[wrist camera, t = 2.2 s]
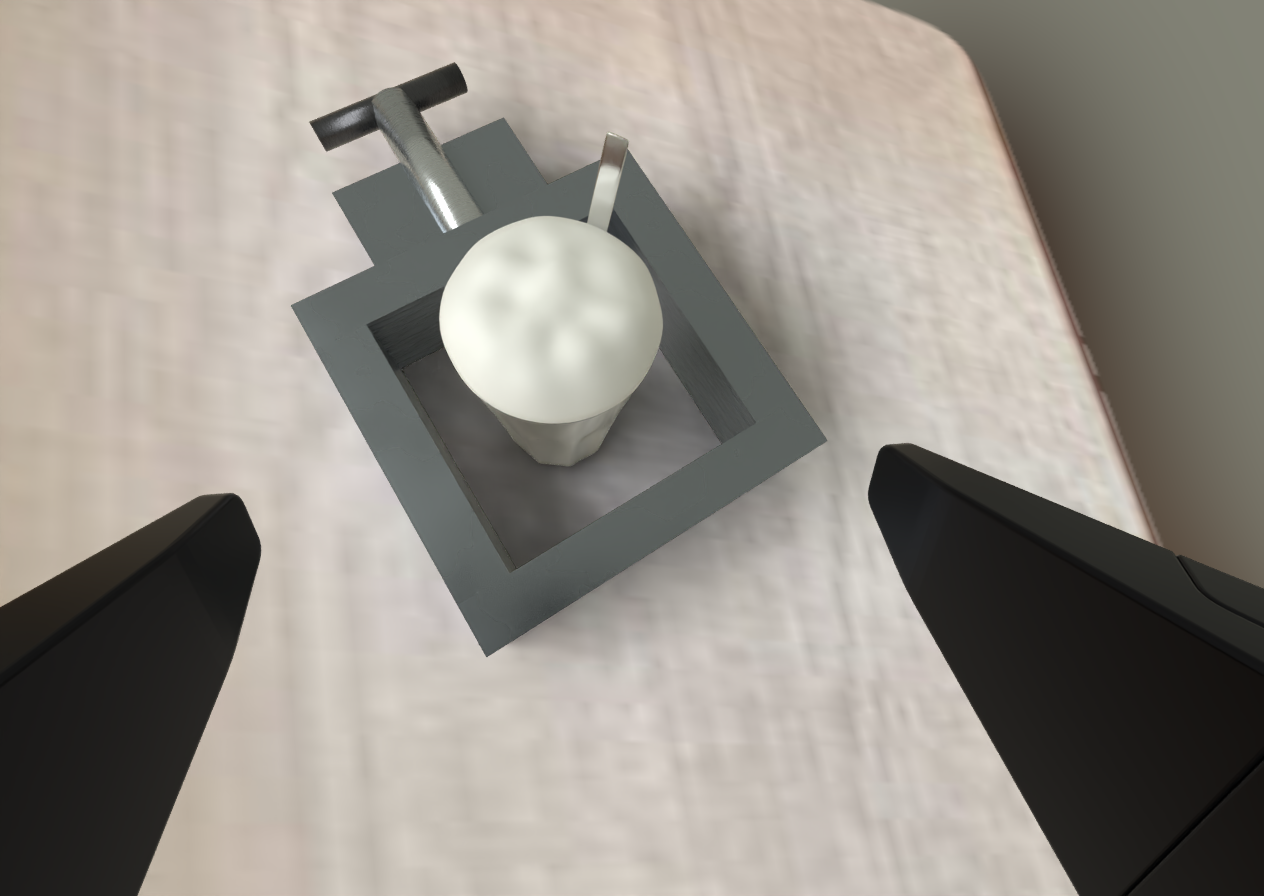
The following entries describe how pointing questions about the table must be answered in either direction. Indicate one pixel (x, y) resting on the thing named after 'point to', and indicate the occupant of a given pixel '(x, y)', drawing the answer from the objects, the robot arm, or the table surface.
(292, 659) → the table surface
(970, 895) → the table surface
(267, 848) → the table surface
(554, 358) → the milkshake
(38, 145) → the table surface
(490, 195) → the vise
